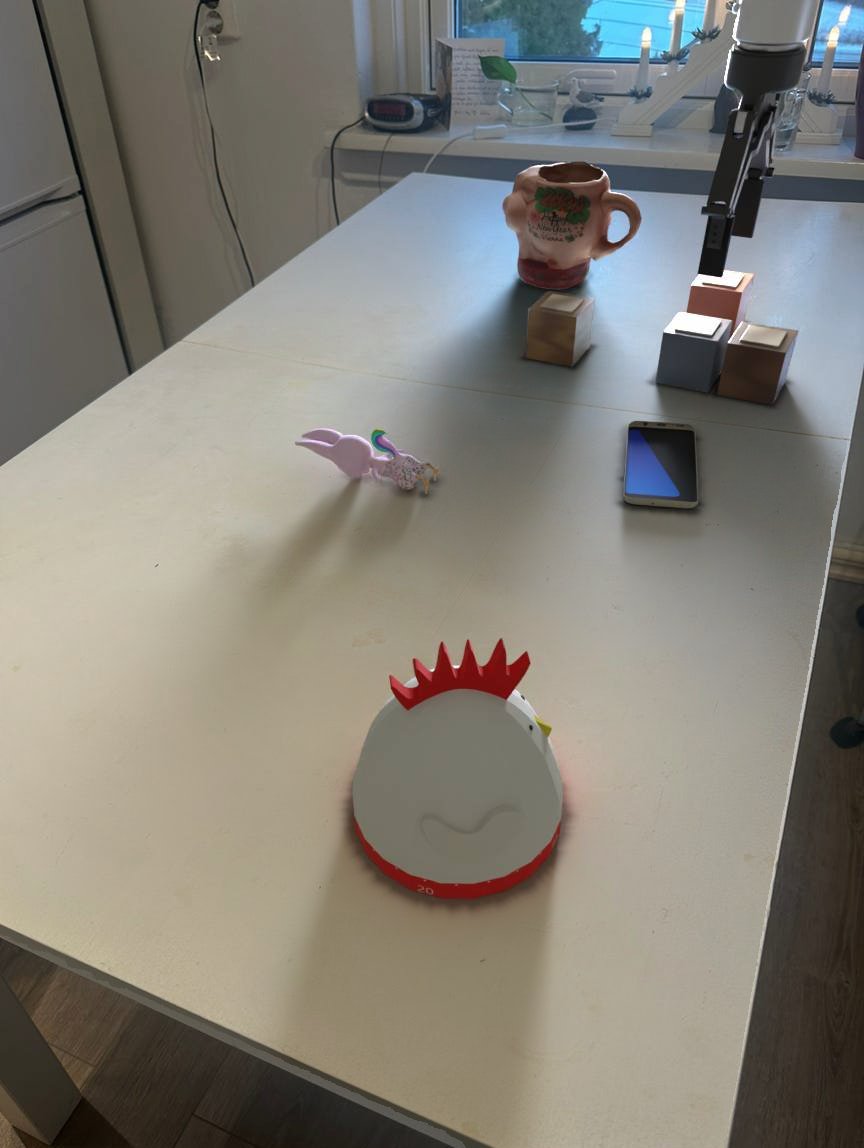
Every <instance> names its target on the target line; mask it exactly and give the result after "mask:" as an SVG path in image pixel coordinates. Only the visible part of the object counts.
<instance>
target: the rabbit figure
mask: <svg viewBox="0 0 864 1148" xmlns="http://www.w3.org/2000/svg"><path fill="white" fill-rule="evenodd" d="M386 434H387V435H388V432H386V430H383V429H380V428H378V429H374V430H373V431H372V433H371V435H370V442H371V443H372V445H371V443H370V442H369V441H368V440H367V439H365V438H363V437H361V436H360V435H359V436H358V435H355V434H346V435H343V434H342V433H341V432H339V431H337V430H333V429H331V428H324V427H323V428H316V429H312V430H309V431H307V432H305V433H303V434H302V435H300V438H301V439H303V440H298V441H295V442H294V445H295V446H300V447H304V448H305V449H307V450H310V451H312V452H313V453H315V454H317V455H319V456H320V457H323V458H325V459H327V460H330V461H331V462H333V464H334V465H335V466H336V467H337V468H338V470H340V471H341V472H342V473H344V474H346V475H348V476H349V477H351V478H361V477H362V476H363V475H364V474H369V473H370V469H371V474H372V478H373V479H374V481H375V483H377V484H381V483H382V482H383V479H382V477H384V478H391V479H392V480H393V481H394V482H395V484H397V486H399V487H400V489H403V490H405V491H409V490H413V489H415V488H416V486H417V485H418V482H419V481H421V482H423V484H424V493H425V494H426V495H428V492H427V491H428V490H429V489H430V480H431V478H427V480H425V479H424V478H423V477H424V474H425V472H426V471H427V470H428V469H430V470H431V471H432V472H433V481H437V477H439V469H438V468H439V465H437V466H436V467H435V466H433V464H431V463H430V461H426V462H421V461H419V460H417V459H416V458H415V457H414V456H412V455H411V454H406V453H405V450H404V449H403V448H400V449H397V448H396V446H395V445H394V444H393V443H392V442H391V441H390V440H388V439H387V438H386V437H384V435H386ZM373 447H374V448H373ZM374 449H376V450H377V451H379V452H382V453H383V452H384V453H385V454H383V455H381V456H378V457H377V456H375V452H374Z"/></svg>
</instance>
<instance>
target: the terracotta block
mask: <svg viewBox="0 0 864 1148" xmlns="http://www.w3.org/2000/svg"><path fill="white" fill-rule="evenodd" d="M754 279H755V274H754V273H747V272H740V271H732V270H725V269H724V273H723V276H722V277H721V278H719V277H713V276H706V275H699V274H698V276H697V277H696V278H695V280H693V282H692V284H690V290H689V294H688V301H687V306H686V312H685V313H690V314H696V315H702V316H709V317H715V318H721V319H728V320H732V326H731V331H730V335H729V340H728V342H729V341H730V339H731V338H732V336H733V335H734V333H735V332H736V330H737V329H738V327H739V326H740V324H741V323H742V322H746V317H747V312H748V307H749V302H750V297H751V294H752V288H753V284H754Z"/></svg>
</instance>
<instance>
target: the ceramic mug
mask: <svg viewBox="0 0 864 1148" xmlns="http://www.w3.org/2000/svg"><path fill="white" fill-rule="evenodd" d="M501 207H502V212H503V214H504V219H505V224H506V225H507V227H508V228H509V229H510V230H512V231H513V232H514V233H515V236H516V239H517V243H518V255H517V262H516V266H517V267H516V268H517V273H518V276H519V278H520V279H521V280H522V281H523V282H524V283H525V284H527V285H531V286H533V287H537V288H541V289H547V290H566V289H569V288H571V287H574V286H577V285H578V284H581V283H582V282H583V281H584V280H585V279H586V278H587V276H588V274H589V272H590V267H591V262H592V261H591V260H593V261H595V262H597V261H600V260H601V259H603V258H605V257H608V256H611V255H612V254H614V253H615V252H617V251H618V250H619V249H621V248H623V247H624V246H625V244H627V243H628V242H629V241H632V240H633V239H634V238H635V236H636V234H637V233H638V232H639V229H640V226H641V225H642V215H641V210H640V207H639V206H638V204H637V202H636V201H635V200H634V199H633V198H632V197H630V196H628V195H626V194H624V193H620V192H612V191H611V181H610V178H609V175H608V174H607V172H606V171H605V170H604V169H603V168H601V167H598V166H595V165H593V164H589V163H588V162H586V161H578V160H577V161H567V162H556V163H553V164H541V165H534V166H530V167H528V168H526V169H525V170H523V171H521V172H519V173H518V174H517V175H516V177H515V179H514V182H513V186H512V191H511V193H509V194H508V195H507V196H505V198H504V199H503V201H502V206H501ZM617 211H618V212H622V213H624V214H625V216H627V218H628V224H629V228H628V232H627V233H626V234H625V235H624V236H623V237H622V238H620V239H619V240H617V241H616V240H615V241H612V240H610V239H609V238H608V237H609V236H608V235H609V228H610V226H611V223H612V219H613V213H614V212H617Z"/></svg>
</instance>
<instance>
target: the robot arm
mask: <svg viewBox="0 0 864 1148" xmlns="http://www.w3.org/2000/svg"><path fill="white" fill-rule="evenodd" d="M819 3H820V0H739V2H738V1H737V2H734V3H733V4H732V5H733V6H731V12H732V13H733V14H734V15H737V17H736V19H735V23H734V28H733V35H732V38H733V39H734V40H735V41H736V42H737V43H734V44H733V45H732V47H731V48H730V49H729V53H728V59H727V65H726V70H725V75H724V85H725V86H726V88H728V89H729V90H731V91H734V92H736V91H738V92H739V93H740V94H741V99H740V102H739V106H738V108H734V109H731V110H730V113H729V114H728V116H727V117H728V121H727V126H726V132H725V135H724V139H723V143H722V145H721V150H720V153H719V157H718V160H717V164H716V168H715V172H714V176H713V179H712V183H711V186H710V189H709V193H708V197H707V201H706V204H705V206H704V205H703V206H702V205H701V210H700V215H701V216H707V221H706V226H705V231H704V236H703V242H702V248H701V252H700V253H701V254H700V258H699V264H698V269H697V275H698V276H699V275H706V276H713V277H719V278H721V277H722V276H723V273H724V270H725V269H726V268H725V267H726V263H727V258H728V254H729V249H730V244H731V239H732V237H738V238H745V239H746V238H747V239H752V238H753V237H754V233H755V229H756V224H757V221H758V216H759V212H760V211H759V210H760V206H761V203H762V198H763V193H764V188H765V184H766V178H768V179H769V178H770V179H773V177H774V174H775V171H776V170H775V169H776V168H775V167H772V165H773V163H774V154H775V148H776V139H777V131H778V124H779V117H780V109H781V103H782V99H783V94H784V93H787V92H790V91H793V90H795V89H796V88H797V87H799V85H800V82H801V79H802V74H803V71H804V67H805V62H806V57H807V52H808V49H807V48H806V47H807V46H806V45H804V43H805V42H806V41H808V40H810V39H811V37H812V34H813V29H814V25H815V20H816V16H817V11H818V7H819ZM722 202H724V203H722Z"/></svg>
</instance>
